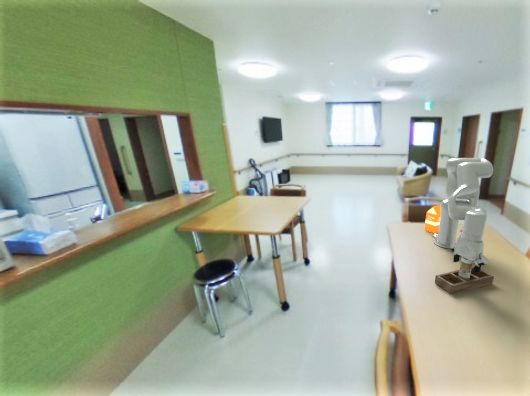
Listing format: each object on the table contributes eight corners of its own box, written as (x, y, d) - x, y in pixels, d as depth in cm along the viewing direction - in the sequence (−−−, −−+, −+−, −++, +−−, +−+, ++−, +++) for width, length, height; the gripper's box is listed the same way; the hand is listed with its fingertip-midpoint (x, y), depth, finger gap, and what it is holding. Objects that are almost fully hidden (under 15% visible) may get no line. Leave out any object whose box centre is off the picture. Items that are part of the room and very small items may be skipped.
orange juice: (424, 229, 178) (427, 205, 173) (432, 227, 181) (435, 203, 175) (434, 233, 171) (438, 208, 166) (442, 230, 174) (446, 205, 168)
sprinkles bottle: (457, 282, 117) (461, 258, 113) (457, 277, 120) (461, 254, 116) (469, 285, 114) (473, 261, 110) (469, 280, 117) (473, 257, 114)
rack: (434, 282, 119) (435, 275, 118) (472, 273, 124) (474, 266, 123) (451, 294, 111) (453, 286, 109) (492, 283, 115) (493, 275, 114)
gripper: (447, 230, 117) (443, 259, 122) (485, 245, 101) (478, 278, 106) (459, 227, 119) (454, 256, 124) (499, 242, 103) (491, 275, 108)
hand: (465, 266), depth 115 cm, fingers open, 9 cm apart
